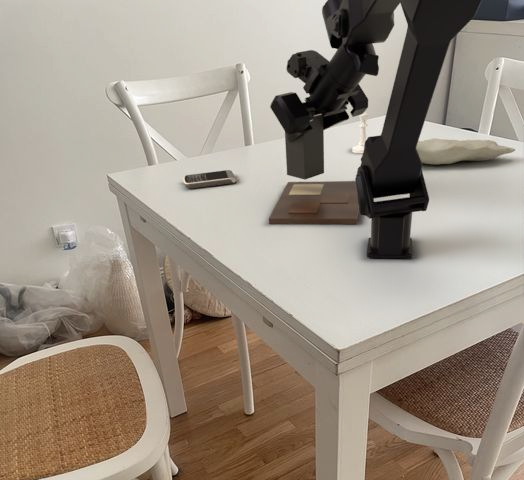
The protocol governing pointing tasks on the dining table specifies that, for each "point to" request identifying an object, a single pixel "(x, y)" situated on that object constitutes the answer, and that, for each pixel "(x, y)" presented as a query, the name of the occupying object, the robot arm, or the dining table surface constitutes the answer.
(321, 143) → the dark grey rectangular block
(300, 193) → the game board
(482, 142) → the stone tool replica
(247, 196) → the dining table surface
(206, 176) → the cell phone
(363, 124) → the chess piece
